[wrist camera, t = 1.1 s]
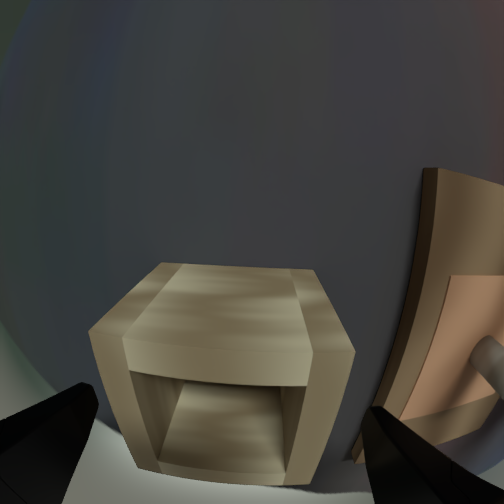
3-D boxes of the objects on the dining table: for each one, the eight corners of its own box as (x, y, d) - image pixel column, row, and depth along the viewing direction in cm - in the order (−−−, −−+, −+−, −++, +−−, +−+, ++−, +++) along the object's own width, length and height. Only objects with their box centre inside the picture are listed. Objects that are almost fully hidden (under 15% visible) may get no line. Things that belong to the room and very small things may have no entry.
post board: (547, 204, 10) (603, 219, 5) (473, 420, 15) (500, 460, 9) (423, 167, 10) (512, 170, 5) (351, 451, 15) (367, 513, 10)
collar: (313, 269, 12) (355, 351, 6) (296, 387, 13) (309, 484, 7) (161, 262, 12) (88, 331, 6) (173, 378, 13) (138, 467, 8)
